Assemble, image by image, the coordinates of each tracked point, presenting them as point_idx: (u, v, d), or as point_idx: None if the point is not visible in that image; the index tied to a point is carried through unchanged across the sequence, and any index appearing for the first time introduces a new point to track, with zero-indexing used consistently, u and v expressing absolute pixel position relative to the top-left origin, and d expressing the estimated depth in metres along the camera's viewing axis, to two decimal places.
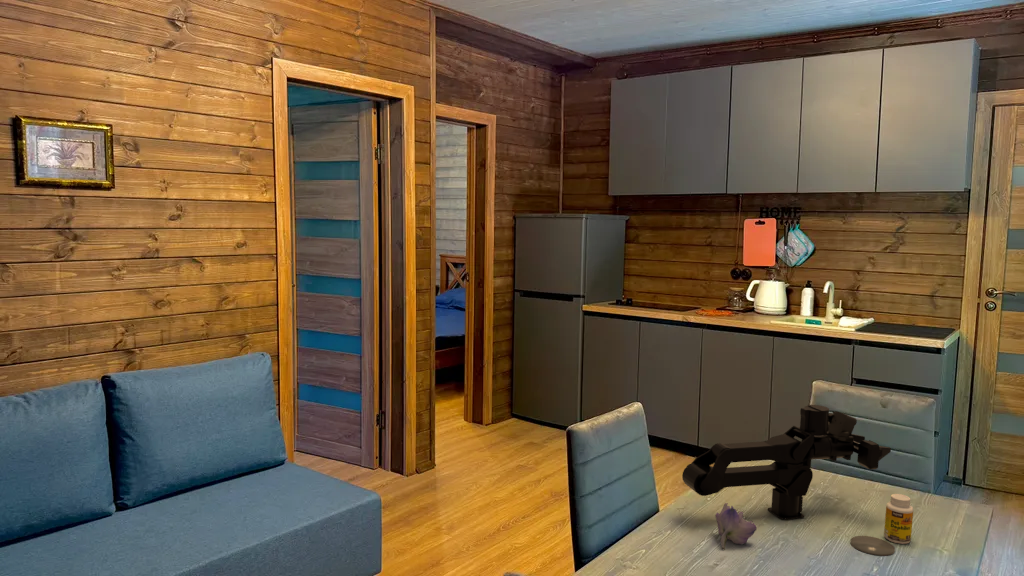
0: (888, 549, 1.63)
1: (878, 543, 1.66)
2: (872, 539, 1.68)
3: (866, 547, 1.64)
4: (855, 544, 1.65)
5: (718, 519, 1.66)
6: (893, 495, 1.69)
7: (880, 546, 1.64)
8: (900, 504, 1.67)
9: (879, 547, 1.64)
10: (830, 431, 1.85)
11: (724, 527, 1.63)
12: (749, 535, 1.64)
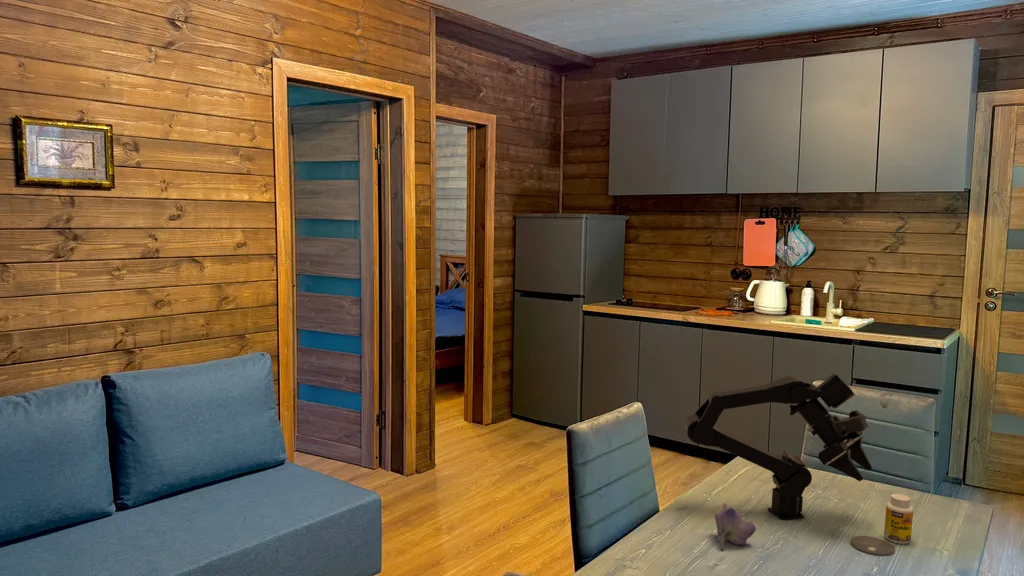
0: (888, 549, 1.63)
1: (878, 543, 1.66)
2: (872, 539, 1.68)
3: (866, 547, 1.64)
4: (855, 544, 1.65)
5: (717, 520, 1.66)
6: (893, 495, 1.69)
7: (880, 546, 1.64)
8: (900, 504, 1.67)
9: (879, 547, 1.64)
10: (840, 420, 1.77)
11: (723, 528, 1.63)
12: (748, 536, 1.64)
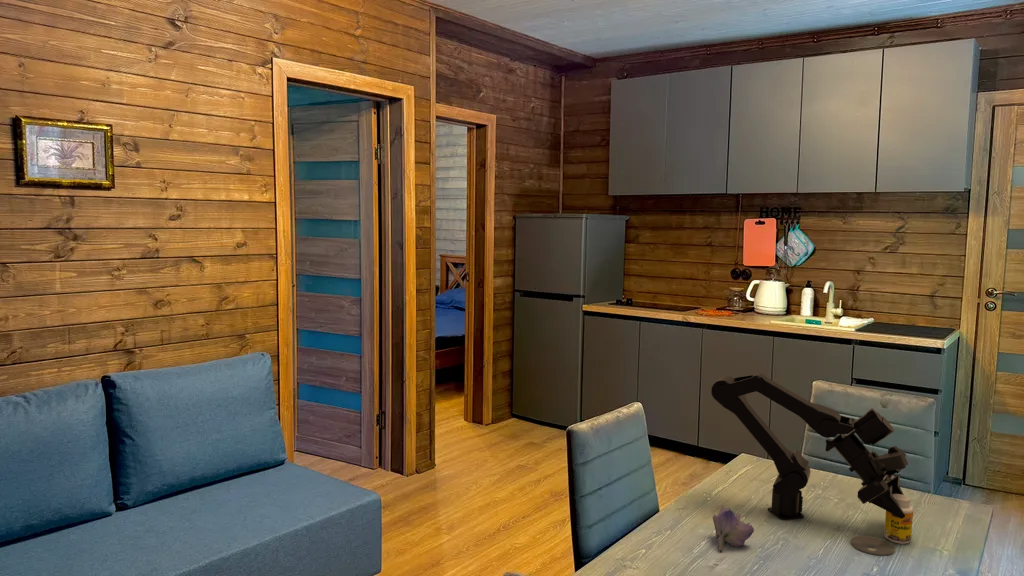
0: (888, 549, 1.63)
1: (878, 543, 1.66)
2: (872, 539, 1.68)
3: (866, 547, 1.64)
4: (855, 544, 1.65)
5: (715, 521, 1.65)
6: (893, 495, 1.69)
7: (880, 546, 1.64)
8: (900, 504, 1.67)
9: (879, 547, 1.64)
10: (878, 456, 1.72)
11: (721, 529, 1.62)
12: (747, 537, 1.63)
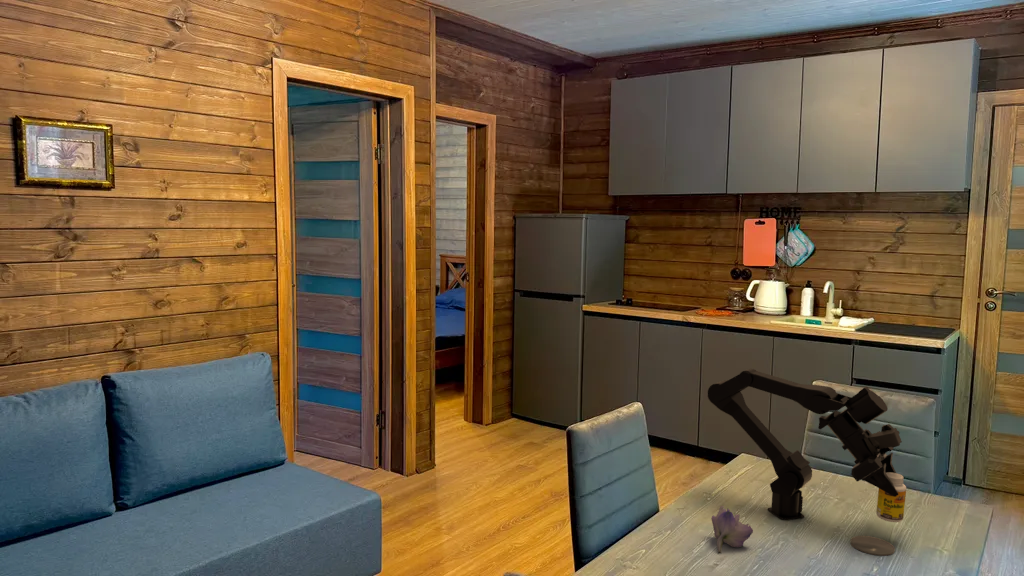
0: (888, 549, 1.63)
1: (878, 543, 1.66)
2: (872, 539, 1.68)
3: (866, 547, 1.64)
4: (855, 544, 1.65)
5: (714, 522, 1.65)
6: (886, 473, 1.67)
7: (880, 546, 1.64)
8: (894, 483, 1.65)
9: (879, 547, 1.64)
10: (872, 434, 1.70)
11: (720, 530, 1.62)
12: (745, 538, 1.62)
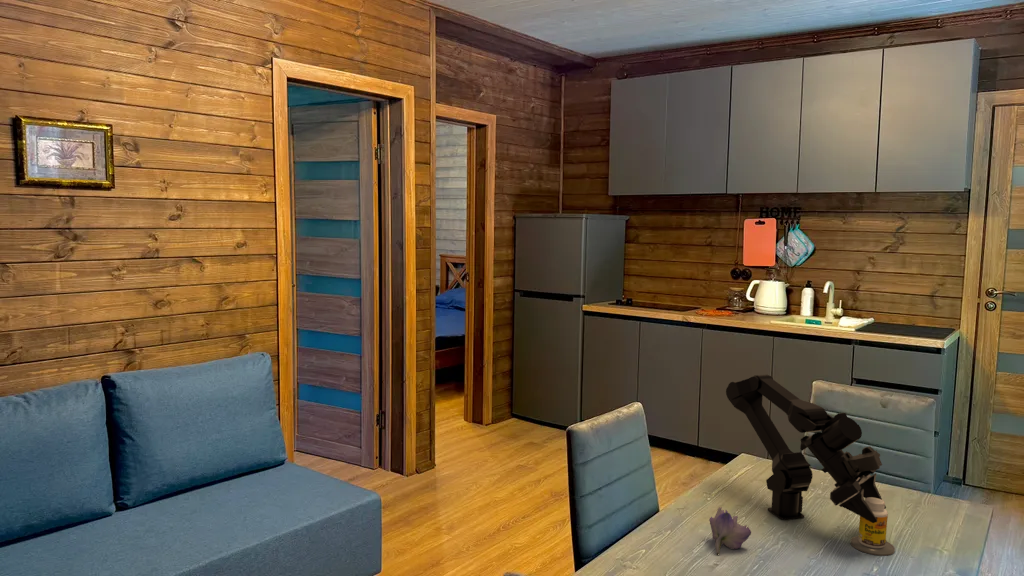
0: (888, 549, 1.63)
1: None
2: None
3: (866, 547, 1.64)
4: (855, 544, 1.65)
5: (712, 524, 1.64)
6: (867, 498, 1.65)
7: None
8: (874, 508, 1.63)
9: None
10: (852, 456, 1.68)
11: (718, 532, 1.61)
12: (744, 540, 1.61)
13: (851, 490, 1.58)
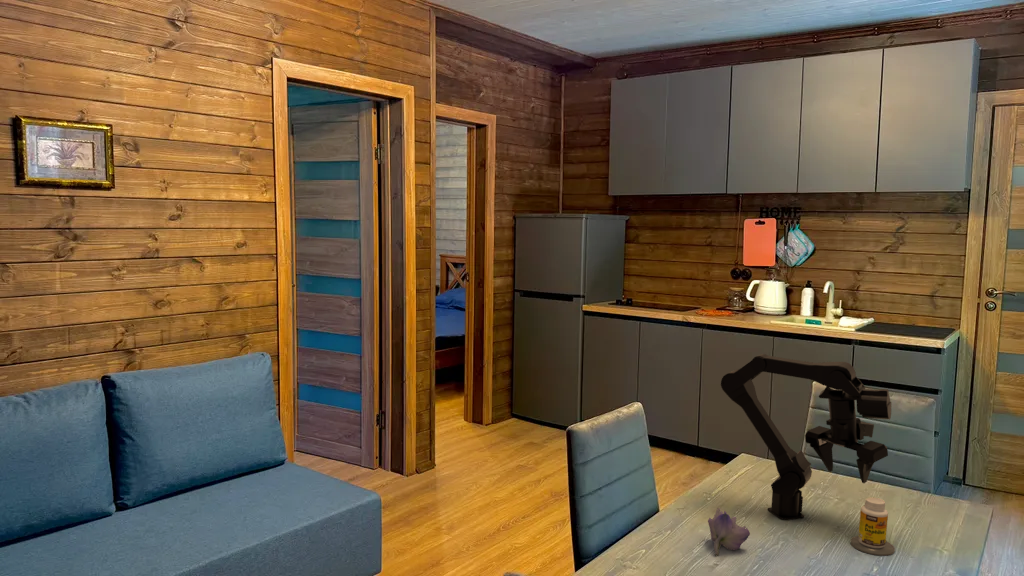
0: (888, 549, 1.63)
1: None
2: None
3: (866, 547, 1.64)
4: (855, 544, 1.65)
5: (711, 525, 1.63)
6: (868, 498, 1.65)
7: None
8: (875, 508, 1.63)
9: None
10: None
11: (717, 533, 1.60)
12: (742, 541, 1.61)
13: (886, 452, 1.68)
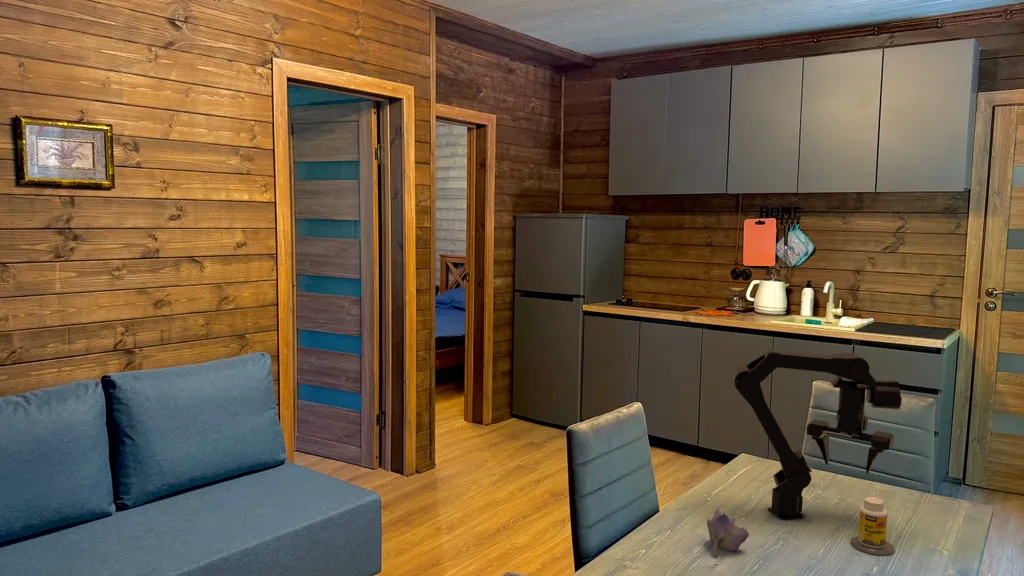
0: (888, 549, 1.63)
1: None
2: None
3: (866, 547, 1.64)
4: (855, 544, 1.65)
5: (709, 526, 1.63)
6: (867, 498, 1.65)
7: None
8: (874, 508, 1.63)
9: None
10: None
11: (716, 534, 1.60)
12: (741, 542, 1.60)
13: (893, 441, 1.74)
